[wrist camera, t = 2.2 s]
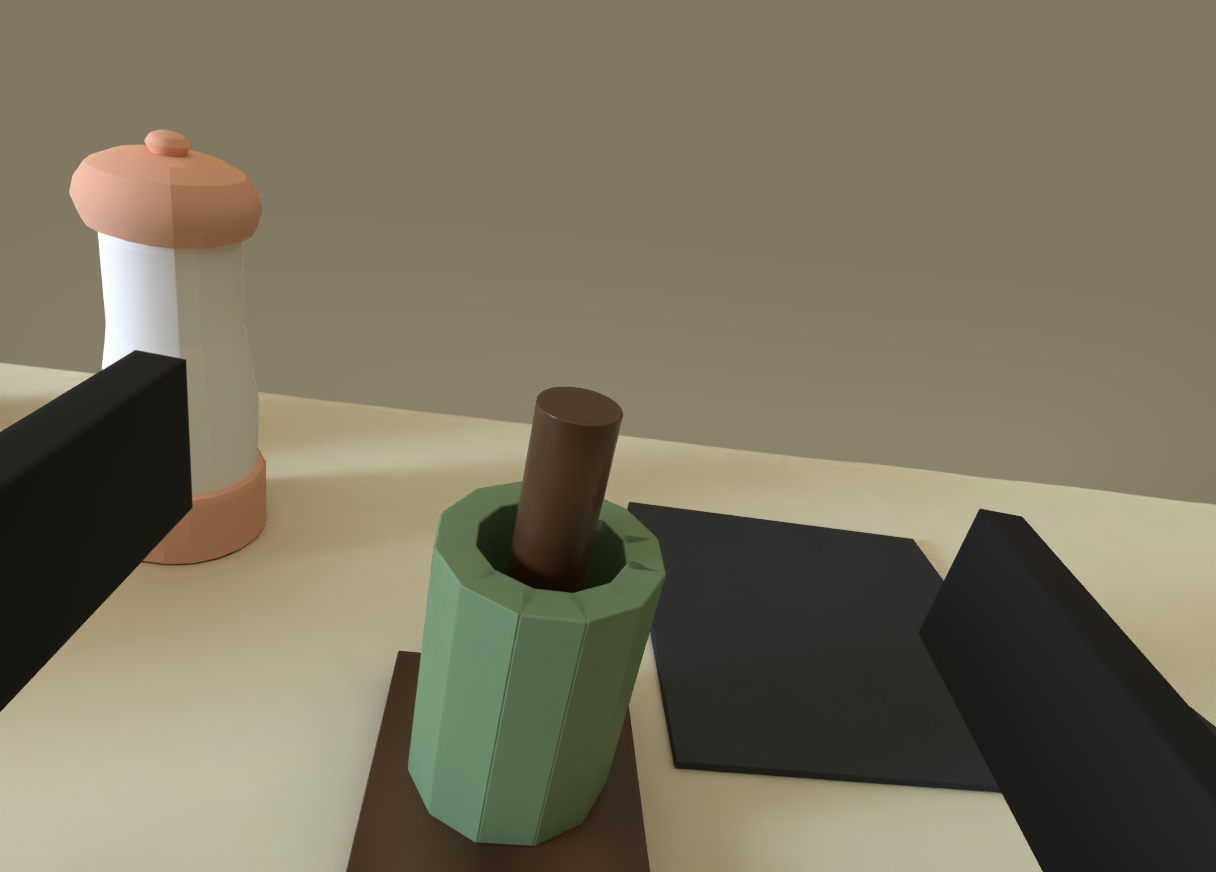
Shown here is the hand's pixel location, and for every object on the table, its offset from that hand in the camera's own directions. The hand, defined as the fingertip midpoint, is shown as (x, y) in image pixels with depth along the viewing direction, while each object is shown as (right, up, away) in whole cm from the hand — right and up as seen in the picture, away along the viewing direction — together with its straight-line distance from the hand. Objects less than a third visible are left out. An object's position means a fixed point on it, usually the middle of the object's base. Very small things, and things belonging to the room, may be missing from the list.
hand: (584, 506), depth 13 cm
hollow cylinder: (-3, -11, +16) cm, 20 cm away
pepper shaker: (-21, -3, +27) cm, 34 cm away
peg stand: (-4, -12, +17) cm, 21 cm away
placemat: (+12, -9, +29) cm, 33 cm away
